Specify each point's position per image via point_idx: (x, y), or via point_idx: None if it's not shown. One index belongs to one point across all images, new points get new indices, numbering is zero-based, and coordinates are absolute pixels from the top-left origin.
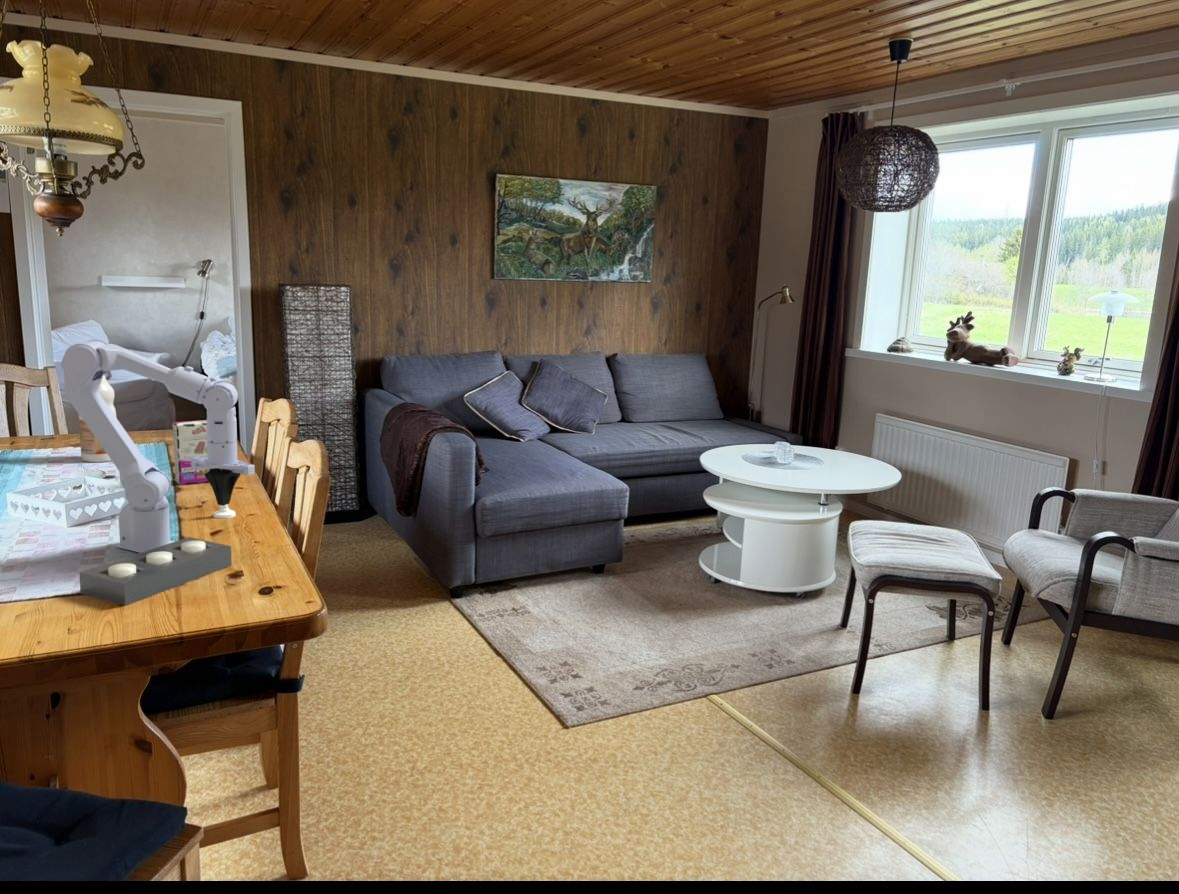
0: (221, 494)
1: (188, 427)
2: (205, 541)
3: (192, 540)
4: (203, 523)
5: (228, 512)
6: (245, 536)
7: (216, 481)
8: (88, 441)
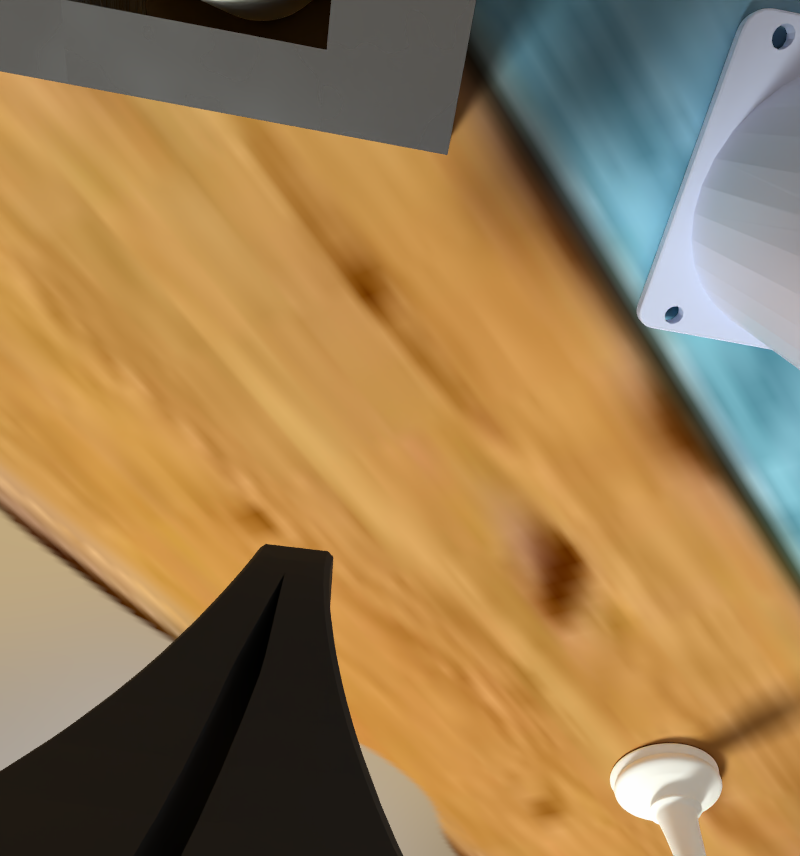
0: (205, 624)
1: None
2: (230, 93)
3: (357, 71)
4: (707, 670)
5: (641, 790)
6: (372, 573)
7: (165, 794)
8: None
